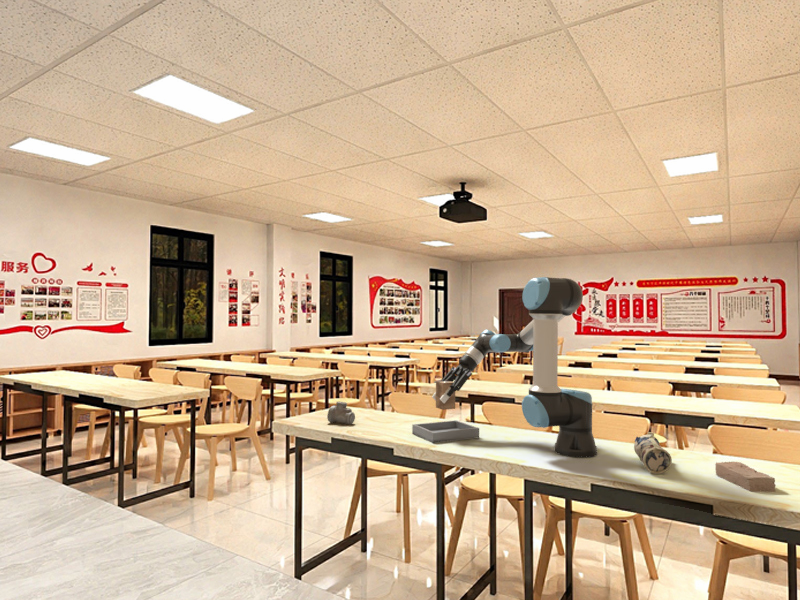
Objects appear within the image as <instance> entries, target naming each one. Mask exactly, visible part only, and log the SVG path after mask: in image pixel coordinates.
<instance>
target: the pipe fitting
mask: <svg viewBox="0 0 800 600" xmlns="http://www.w3.org/2000/svg"><path fill="white" fill-rule="evenodd" d="M347 406H348V403H347V402H345V401H339V400H338V401H336V405H332V406H330V408H329V409H328V411H327V418H326V419H327V421H328V422H329V423H331V422H332V423H331V424H334V423H333V422H335V423H337V422H338V423H341V424H345V425H348V424H349V425H348V426H351V425H352V424H354V423H355V420H356V415H355V413H354V412H353V411H352V408H350V407H349V408H348V407H347ZM350 424H351V425H350Z"/></svg>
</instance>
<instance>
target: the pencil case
mask: <svg viewBox="0 0 800 600" xmlns="http://www.w3.org/2000/svg"><path fill="white" fill-rule="evenodd" d="M659 441H660V440H659V439H657V438H656V436H655V433H654V432H651V431H647V434H644V435H641V436H636V437H635V439H634V446H633V450H634V452H635V454H636V455H637V457H638V458H639V460H640V461H641V463H642V464H643V466H644V467H645V469H646V471H648V472H649V473H651V474H654V475H658V474H662V473H664V472H665V473H666V472H667V471H668V470H669V469H670V468H671V466H672V463H673V462H672V455H671V454H670V452H669V451H668V450H666V449H664V448H663V447H662V446H661V444H660V442H659Z"/></svg>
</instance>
